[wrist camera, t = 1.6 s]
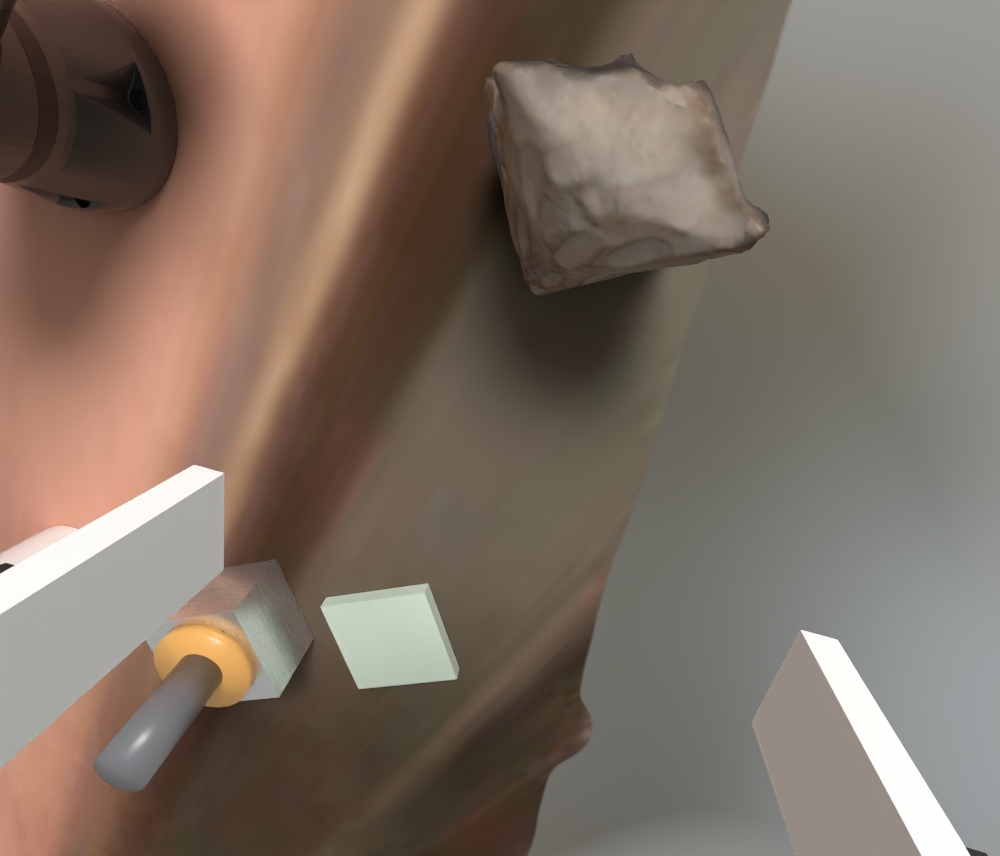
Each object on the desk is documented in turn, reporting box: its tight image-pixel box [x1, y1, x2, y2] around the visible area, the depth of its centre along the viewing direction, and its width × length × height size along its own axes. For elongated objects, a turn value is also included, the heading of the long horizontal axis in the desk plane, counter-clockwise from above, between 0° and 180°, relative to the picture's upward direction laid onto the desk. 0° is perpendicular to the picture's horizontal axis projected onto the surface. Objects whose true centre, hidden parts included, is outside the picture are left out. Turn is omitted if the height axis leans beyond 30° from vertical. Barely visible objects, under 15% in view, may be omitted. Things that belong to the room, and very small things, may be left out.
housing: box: [146, 559, 314, 701], centre depth 55 cm, size 11×11×8 cm
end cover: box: [94, 624, 255, 791], centre depth 49 cm, size 10×10×17 cm
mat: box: [321, 583, 459, 689], centre depth 58 cm, size 12×12×2 cm
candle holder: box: [0, 525, 79, 565], centre depth 54 cm, size 10×10×12 cm
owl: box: [484, 53, 770, 296], centre depth 30 cm, size 13×13×20 cm
